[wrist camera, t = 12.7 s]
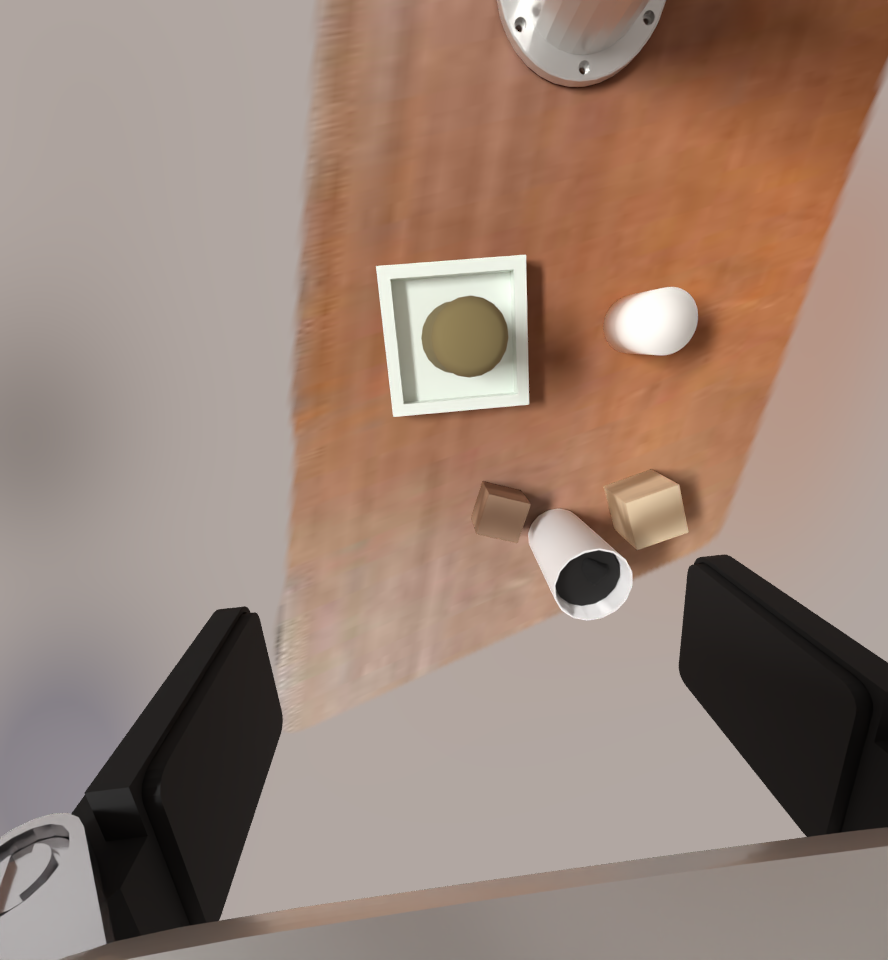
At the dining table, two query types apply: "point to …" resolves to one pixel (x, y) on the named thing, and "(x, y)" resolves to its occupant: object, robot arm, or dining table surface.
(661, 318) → the white rounded cylinder
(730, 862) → the robot arm
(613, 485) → the oak block
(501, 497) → the walnut block
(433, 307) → the tray
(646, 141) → the dining table surface
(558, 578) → the drinking glass
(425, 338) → the olive rounded tall piece
